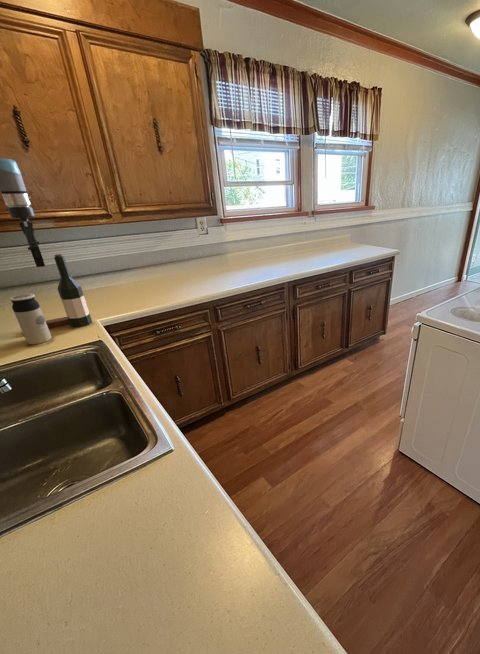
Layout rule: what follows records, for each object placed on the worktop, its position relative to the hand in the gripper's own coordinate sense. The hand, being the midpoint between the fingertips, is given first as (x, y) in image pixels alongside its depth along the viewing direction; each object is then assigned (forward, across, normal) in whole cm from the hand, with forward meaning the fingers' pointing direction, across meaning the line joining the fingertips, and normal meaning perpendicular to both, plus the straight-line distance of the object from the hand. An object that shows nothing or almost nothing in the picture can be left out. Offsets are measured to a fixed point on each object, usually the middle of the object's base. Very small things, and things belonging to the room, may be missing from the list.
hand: (40, 263), depth 132 cm
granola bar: (+27, +1, +3) cm, 27 cm away
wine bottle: (+27, -4, -7) cm, 28 cm away
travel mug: (+27, -14, +9) cm, 32 cm away
